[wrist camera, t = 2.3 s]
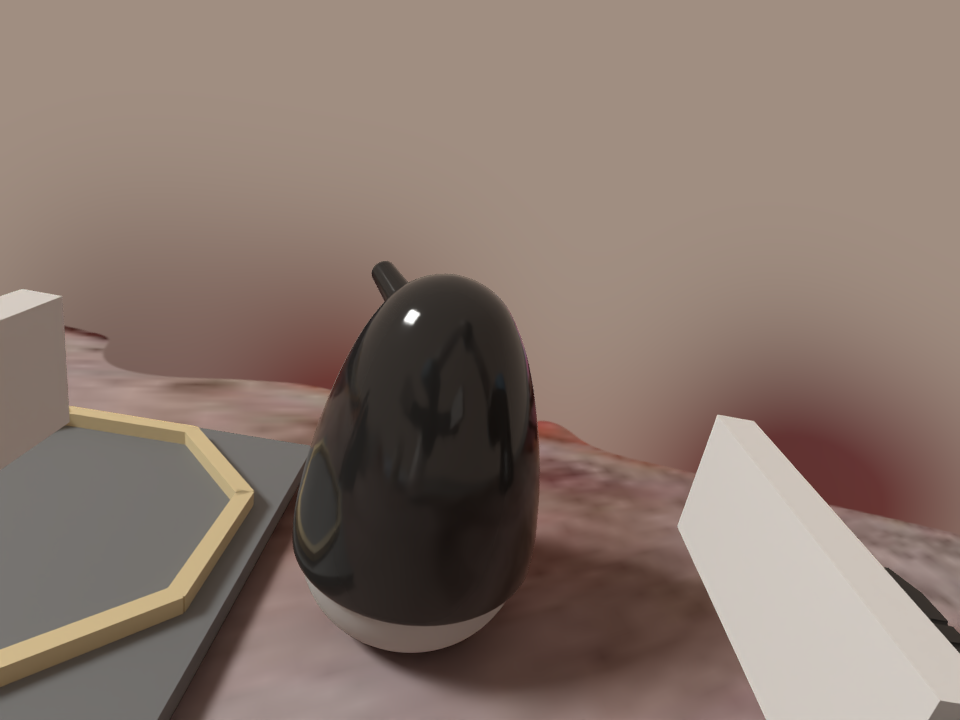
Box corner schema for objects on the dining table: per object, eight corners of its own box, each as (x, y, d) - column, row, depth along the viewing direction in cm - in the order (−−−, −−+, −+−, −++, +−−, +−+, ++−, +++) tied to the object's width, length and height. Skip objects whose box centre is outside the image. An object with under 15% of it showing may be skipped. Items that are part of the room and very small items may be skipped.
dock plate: (312, 460, 37) (314, 434, 36) (123, 802, 18) (121, 762, 18) (-25, 406, 36) (-29, 378, 36) (-579, 705, 18) (-607, 659, 17)
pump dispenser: (431, 507, 35) (476, 242, 29) (560, 634, 28) (651, 314, 22) (250, 563, 28) (264, 237, 23) (356, 747, 21) (413, 336, 16)
